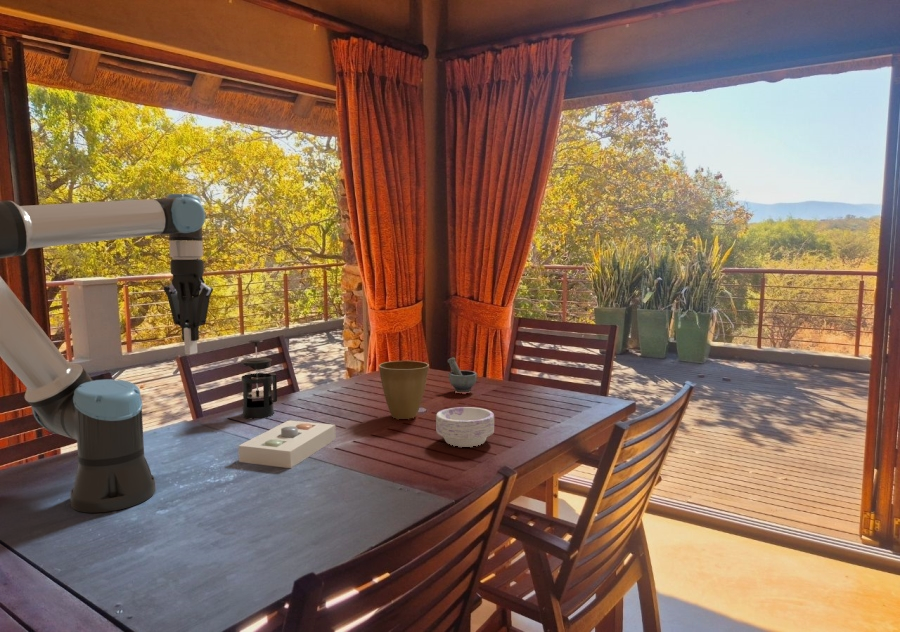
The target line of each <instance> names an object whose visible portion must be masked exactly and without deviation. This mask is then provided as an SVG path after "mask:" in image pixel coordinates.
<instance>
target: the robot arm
mask: <svg viewBox="0 0 900 632" xmlns="http://www.w3.org/2000/svg"><path fill="white" fill-rule="evenodd" d="M205 212H206V211H205V208H204V206H203V205H202V203H201V198H200V196H198V195H196V194H191V193H190V194H189V193H170V194H168V195H167V196H166V197H165V198H163V197H162V198H154V199H153V198H152V199H151V198H147V199H136V198H130V199H129V198H123V199H121V200H110V201H108V200H107V201H90V202H75V203H74V202H70V203H68V202H67V203H54V204H53V203H51V204H50V203H49V204H35V205H32V204H31V205H19V204H17V203H16V202H14V201H12V200H0V259H4V258H12V257H18V256H24V255H26V253H27V252H28V250H29V249H39V248H47V247H48V248H49V247H57V246H66V245H68V246H69V245H76V244H84V243H95V242H102V241H114V240H122V239H129V238H132V239H133V238H141V237H142V238H143V237H150V236H151V237H152V236H158V235H161V236H162V235H168V241H169V243H168V244H169V245H168V246H169V247H168V248H169V257H170V258H172V259H170V261H169V266H170V268H169V269H170V273H171V275H172V279H171V283H170V284H169V285H167V286H164V287H163V292H164V293H165V294H166V296H167V300H168V304H169V307H170V313H171V316H172V320H173V323H174V325H175V326H179V327H180V328H181V337H182V338H181V339H182V341H183V342H184V355H188V356H190V355H194V354H198V341H199V339H200V336H199V335H200V330H199V329H200V327H201V326H204V325H206V323H207V317H208V311H209V305H210V300H211V299H210V298H211V295H212V293H213V292H214V288H213V287H212V286H208V285H207V284H206V283H205V279H204V277H203V275H204V273H205V263H204V260H203V259H202V257H204V245H203V226H204V224H205V221H206V213H205ZM0 359H2V361H3V362H4V363H5V364H6V366H8V367H9V369H10V370H11V371H12V372H13V374H14V375H15V376H16V377H17V378H18V379H19V380H20V381H21V383H22V384H23V386H25V388H26V391H25V393H24V400H25V401H26V402H27V403H28V405H30V407H31V411H32V414H33V417H34V419H35V420H36V422H37V423H38V424H39V425H40V426H41V427H42V428H44V429H45V430H46V431H49V432H50V433H53V434H56V435H61V436H64V437H65V438H66V437H67V438H70V439H72V440H74V441H76V445H77V460H78V467H77V470H76V471H77V472H76V475H75V479H74V484H73V488H71V491H70V495H69V497H70V499H69V500H70V507H71V508H72V509H73V510H75V511H78V512H80V513H89V514H90V513H92V514H93V513H107V512H114V511H119V510H123V509H127V508H132V507H134V506H136V505H139V504H141V503H144V502H146V501H147V500H149V499H150V498H152V497H153V496H154V494H155V493H156V491H157V489H156V480H155V476H154V475H153V474H152V471H151V469H150V465H149V463H148V461H147V459H146V457H145V447H144V445H145V441H144V425H143V423H144V422H143V421H144V420H143V400H142V395H141V390H140V388H139V387H138V386H137V385H136V384H134V383H133V382H131V381H128V380H124V379H123V380H122V379H117V380H115V379H112V378H111V379H110V378H109V379H105V378H103V379H95V380H93V378H92V377H90V375H89V373H87V371H86V370H85V369H84V368H83V366H82V365H81V364H79V363H70V362H69V361H68V360H67V359H66V357H65V356H64V355H63V354H62V353H61V351H60V350H59V348H57V346H56V345H55V343H54V342H53V341H52V340H51V339H50V337H48V334H46V332H45V331H44V330H43V328H42V327H41V325H39V323H38V322H37V321H36V320H35V318H34V317H33V316H32V314H31V313H30V312H29V311H28V309H27V308H26V307H25V306H24V304H23V303H22V302H21V300H20V299H19V298H18V297H17V295H16V294H15V293H14V292H13V290H12V289H11V288H10V287H9V285H8V284H7V282H5V280H4V279H3V278H2V276H1V275H0Z"/></svg>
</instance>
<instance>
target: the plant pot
mask: <svg viewBox="0 0 900 632" xmlns="http://www.w3.org/2000/svg"><path fill="white" fill-rule="evenodd" d="M429 367H430V364H429V363H427V362H423V361H418V360H416V361H415V360H394V361H393V360H392V361H386V362H382V363H380V364H378V369H379V370H378V371H379V375H380V379H381V380H380V383H381V386H382V391H383V394H384V398H385V401H386V404H387V405H386V406H387V408H388V411H389V413H390V416H391V418H392V417H393V419H394V418H396V419H395V420H399V419H408V420H410V419H409V418H413V417H415V416H416V417H417V415H418V413H419V410H420V408H421V404H422V401H423V397H424V395H425V389H426V384H427V381H428V374H429ZM416 417H415V418H416ZM413 419H414V418H413Z"/></svg>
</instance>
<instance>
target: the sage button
mask: <svg viewBox="0 0 900 632" xmlns="http://www.w3.org/2000/svg"><path fill="white" fill-rule="evenodd" d="M280 445H282V440H278V439H274V440H269V441H266V442H265V446H271V447H278V446H280Z"/></svg>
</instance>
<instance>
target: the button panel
mask: <svg viewBox="0 0 900 632" xmlns="http://www.w3.org/2000/svg"><path fill="white" fill-rule="evenodd" d="M305 423H307V424H311V425H312V428H310V429H308V430H302V429H298V436H296V437H294V438H286V437H281V429H282V428H284V427H290V426H293V427H296V426H297V425H299V424H305ZM336 437H337V436H336V424H330V423H321V422H308V421H298V420H290V419H289V420H287V421H285V422H283V423H281V424H278V425H277V426H274V427H273V428H271V429H268V430H267V431H265V432H263V433H260V434H259V435H257V436H254V437H253V438H250V439H249V440H247V441H245V442H243V443H241V444H239V445H238V462H239V463H244V464H253V465H261V466H269V467H277V468H285V469H286V468H287V469H292V468H293V467H296V466H297V465H298V464H300V463H302V462H303V461H304V460H306V459H308V458H309V457H311V456H313V455H314V454H315V453H317V452H318V451H320V450H321V449H323V448H324V447H327V446H328V445H329V444H331V443H333V442H334V441H336V440H335V439H336ZM274 439H278V440H282V445H280V446H278V447H271V446H265V442H266V441H269V440H274Z"/></svg>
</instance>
